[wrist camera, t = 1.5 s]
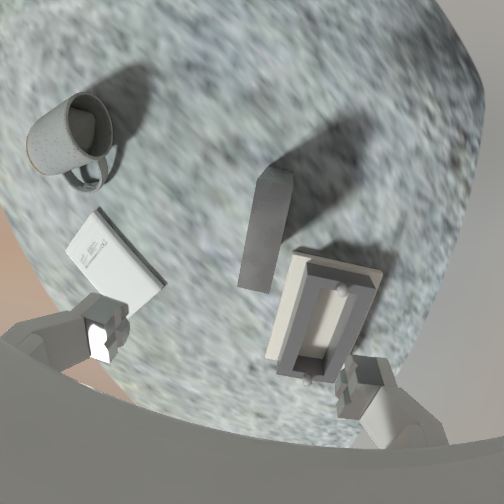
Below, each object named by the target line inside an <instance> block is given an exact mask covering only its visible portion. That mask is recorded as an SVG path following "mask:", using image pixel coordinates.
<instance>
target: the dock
mask: <svg viewBox="0 0 504 504" xmlns="http://www.w3.org/2000/svg"><path fill="white" fill-rule="evenodd" d="M382 277H383V273H382V271H381V270H376V269H372V268H368V267H363V266H359V265H354V264H350V263H345V262H341V261H336V260H332V259H327V258H323V257H318V256H314V255H309V254H305V253H300V252H296V251H293V253H292V257H291V261H290V265H289V269H288V273H287V277H286V280H285V284H284V288H283V292H282V296H281V300H280V303H279V307H278V311H277V314H276V318H275V322H274V325H273V329H272V333H271V336H270V340H269V343H268V347H267V350H266V355H265V358H267V359H272V360H277V361H278V362H277V373H276V374H278V375H284V376H289V377H295V378H301V379H303V385H304V386H306V387H308V386H310V385H311V384H312V380H314V381H320V382H327V383H335V381H336V379H337V376H338V374H339V372H340V371H341V370H342V369H343V368H344V366H345V365H344V361H345V359H346V357H347V356H348V355H349V354H350V353H351V351H352V349H353V347H354V344H355V342H356V340H357V338H358V336H359V333H360V331H361V329H362V327H363V324H364V322H365V320H366V317H367V315H368V312H369V310H370V308H371V305H372V303H373V300H374V298H375V295H376V293H377V290H378V287H379V285H380V282H381V279H382Z"/></svg>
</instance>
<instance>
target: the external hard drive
mask: <svg viewBox="0 0 504 504" xmlns="http://www.w3.org/2000/svg"><path fill="white" fill-rule="evenodd" d="M65 252H66V253H67V254H68V256H69V257H70V258H71V259H72V260H73V262H74V263H75V264H76V265H77V267H78V268H79V269H80V270H81V271H82V273H83V274H84V275H85V276H86V277H87V278H88V280H89V281H90V282H91V283H92V284H93V285H94V287H95V288H96V289H97V290H98V291H99V292H100V293H101V294H102V295H104V296H107V297H110V298H113V299H116V300H119V301H122V302H125V303H127V304H128V306H129V314H128V315H127V316H126V318H127V319H128V318H130V317H131V316H132V315H133V314H134V313H135V312H136V311H138V310H139V309H140V308H141V307H142V306H143V305H144V304H146V303H147V302H148V301H149V300H150V299H151V298H152V297H154V296H155V295H156V294H157V293H158V292H159V291H160V290H162V288H163V287H164V285H163V284H162V283H161V282H160V281H159V280H158V279H157V278H156V277H155V275H154V274H153V273H152V272H151V271H150V270H149V269H148V268H147V267H146V266H145V265H144V264H143V262H142V261H141V260H140V259H139V258H138V257H137V256H136V255H135V254H134V252H133V251H132V250H131V249H130V248H129V247H128V246H127V244H126V243H125V242H124V241H123V240H122V239H121V238H120V236H119V235H118V234H117V233H116V232H115V231H114V229H113V228H112V227H111V226H110V225H109V224H108V222H107V221H106V220H105V219H104V218H103V216H102V215H101V214H100V213H99V212H98V210H95V211H93V212H92V213H91V214H90V216H89V217H88V218H87V220H86V221H85V223H84V224H83V225H82V227H81V228H80V230H79V231H78V233H77V234H76V235H75V237H74V238H73V240H72V241H71V243H70V244H69V246H68V247H67V249H66V251H65Z"/></svg>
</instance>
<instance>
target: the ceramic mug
mask: <svg viewBox="0 0 504 504" xmlns="http://www.w3.org/2000/svg"><path fill="white" fill-rule="evenodd" d="M112 142H113V127H112V121H111V118H110V115H109V113H108V110H107V108H106V107H105V105H104V104H103V102H102V101H101V100H100V99H99V98H98V97H96V96H95V95H93V94H91V93H88V92H80V93H77V94H75V95H73V96H71V97H70V98H69V99H67V100H66V101H64V102H63V103H61V104H60V105H58V106H57V107H55V108H54V109H52V110H51V111H50V112H48V113H47V114H45V115H44V116H43V117H41V118H40V119H39V120H38V121H37V122H36V123H35V124H34V125H33V126H32V128H31V129H30V131H29V133H28V136H27V141H26V149H27V155H28V158H29V160H30V162H31V164H32V165H33V167H34V168H35V169H36V170H37V171H39V172H40V173H42V174H44V175H58V174H62V175H63V177H64V179H65V180H66V181H67V183H68V184H69V185H70V186H71V187H72V188H73V189H75V190H77V191H79V192H82V193H92V192H95V191H97V190H99V189H100V188H101V187H102V185H103V184H104V183H105V181H106V179H107V176H108V166H107V161H106V158H105V156H106V155H107V154H108V153H109V151H110V149H111V146H112ZM92 162H96V163H97V164H98V168H99V173H100V180H99V181H98V182H93V183H83V182H81V181H80V180H78V179H77V177H76V176H74V174H73V173H72V171H71V170H72V169H74V168H77V167H81V166H83V165H86V164H89V163H92Z"/></svg>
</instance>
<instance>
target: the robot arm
mask: <svg viewBox="0 0 504 504" xmlns="http://www.w3.org/2000/svg"><path fill="white" fill-rule="evenodd" d="M128 314H129V306H128V304H127V303H125V302H122V301H119V300H116V299H113V298H110V297H107V296H104V295H101V294H98V293H95V292H93V293H90V294H89V295H88V296H87V297H86V298H85V299H84V300H82V301H81V302H80V303H79V304H78V305H77V306H76V307H75V308H73V309H72V310H71V311H70V312H69V311H63V312H59V313H55V314H51V315H47V316H43V317H39V318H35V319H31V320H27V321H23V322H19V323H16V324H15V325H14V326H13V327H11V328H10V329H9V330H8V331H7V332H6V333H4V334H3V335H2V336H1V337H0V504H504V436H502V437H497V438H492V439H487V440H481V441H475V442H469V443H462V444H454V445H449V443H448V440H447V437H446V434H445V432H444V429H443V426H442V423H441V422H440V421H438V420H437V419H436V418H435V417H434V416H433V415H432V414H431V413H429V412H428V411H427V410H426V409H425V408H423V406H421V405H420V404H419V403H418V402H417V401H416V400H414V399H413V398H412V397H411V396H410V395H409V394H408V393H407V392H405V391H404V390H403V389H402V388H398V387H397V384H396V381H395V378H394V375H393V372H392V369H391V366H390V364H389V361H388V359H387V358H380V357H367V356H359V355H352V354H349V355H348V356H347V357H346V359H345V361H344V365H345V368H344V369H342V370H341V371H340V372H339V374H338V376H337V379H336V383H335V395H336V396H337V397H338V399H339V400H338V402H337V404H336V406H337V414H338V418H345V419H355V420H359V422H360V423H361V424H362V426H363V427H364V428H365V430H366V431H367V433H368V434H369V435H370V437H371V438H372V439H373V440H374V442H375V443H376V445H377V446H378V447H379V449H354V448H335V447H322V446H311V445H302V444H294V443H286V442H279V441H273V440H267V439H261V438H255V437H250V436H245V435H240V434H235V433H230V432H226V431H221V430H217V429H213V428H209V427H205V426H201V425H197V424H194V423H190V422H186V421H183V420H179V419H176V418H173V417H169V416H166V415H163V414H160V413H157V412H154V411H151V410H148V409H145V408H142V407H140V406H137V405H134V404H131V403H128V402H126V401H123V400H121V399H118V398H116V397H113V396H111V395H108V394H106V393H104V392H101V391H99V390H96V389H94V388H92V387H90V386H87V385H85V384H83V383H81V382H79V381H77V380H75V379H72V378H70V377H68V376H66V375H64V374H62V373H60V372H61V371H63V370H66V369H68V368H70V367H72V366H74V365H76V364H78V363H80V362H82V361H84V360H86V359H89V358H90V356H91V357H93V358H96V359H99V360H101V361H104V362H107V363H109V364H110V363H111V361H112V360H113V358H114V357H115V356H116V354H117V353H118V350H117V348H118V347H121V346H123V345H124V344H125V342H126V341H127V338H128V335H129V330H130V323H129V321H128V320H127V318H126V316H127V315H128Z"/></svg>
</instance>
